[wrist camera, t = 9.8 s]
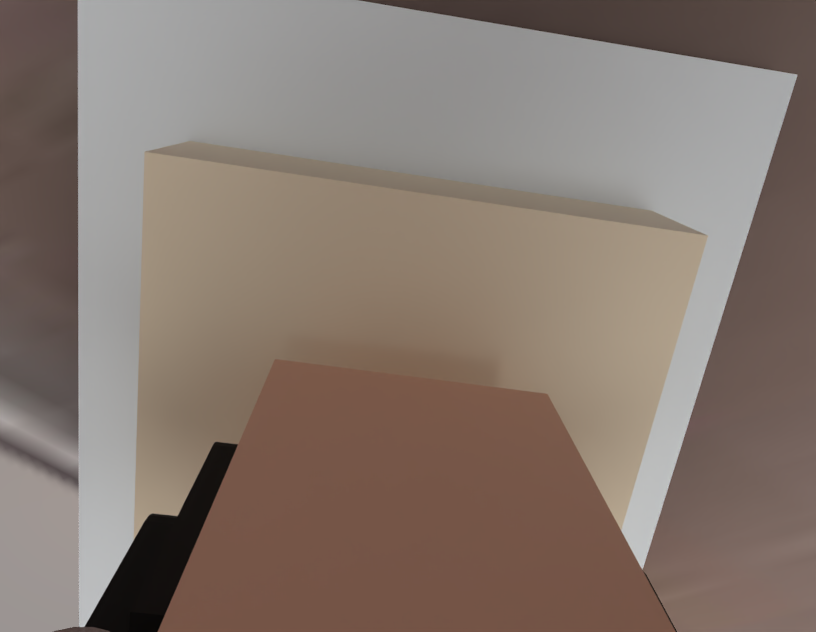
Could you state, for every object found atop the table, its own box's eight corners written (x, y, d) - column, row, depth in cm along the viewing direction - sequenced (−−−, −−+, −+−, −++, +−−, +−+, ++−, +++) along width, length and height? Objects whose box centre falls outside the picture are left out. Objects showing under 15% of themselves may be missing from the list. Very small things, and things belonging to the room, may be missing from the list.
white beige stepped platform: (97, -39, 15) (-2, -84, 11) (773, 75, 16) (891, 70, 12) (93, 607, 21) (26, 724, 17) (597, 657, 22) (641, 777, 18)
